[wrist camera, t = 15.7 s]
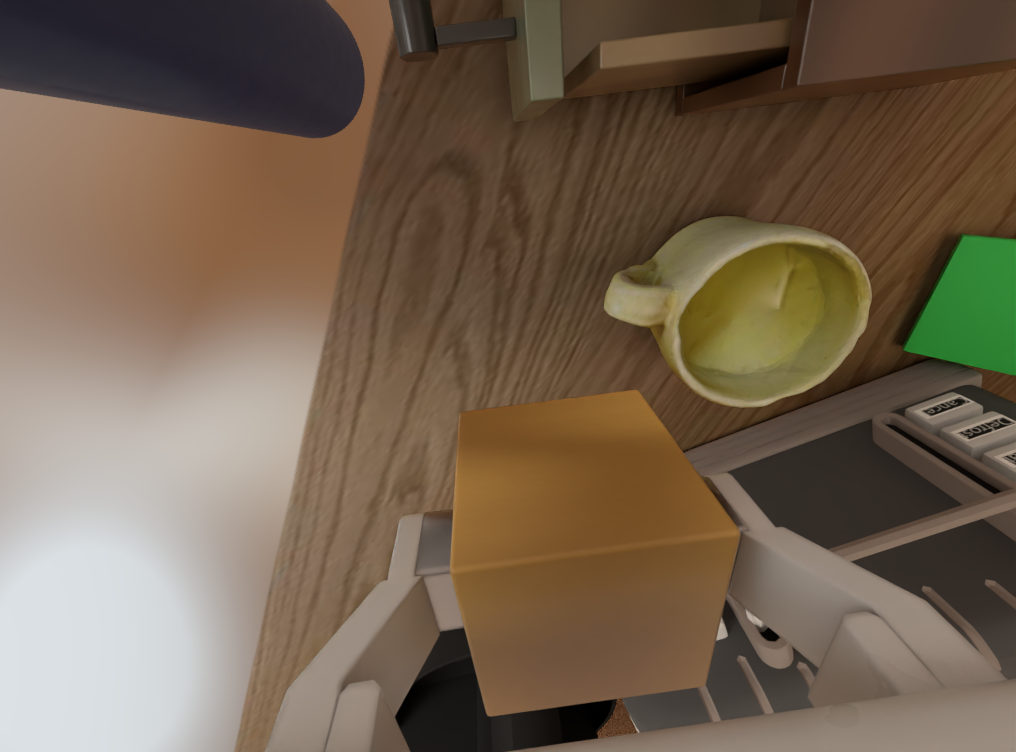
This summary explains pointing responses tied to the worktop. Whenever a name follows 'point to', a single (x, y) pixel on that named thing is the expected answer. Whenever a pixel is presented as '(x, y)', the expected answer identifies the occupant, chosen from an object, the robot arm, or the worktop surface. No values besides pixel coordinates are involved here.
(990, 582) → the toaster
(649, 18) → the drawer
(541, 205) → the worktop surface
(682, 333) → the mug
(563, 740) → the container
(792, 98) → the cabinet
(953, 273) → the bracket
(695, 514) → the block
